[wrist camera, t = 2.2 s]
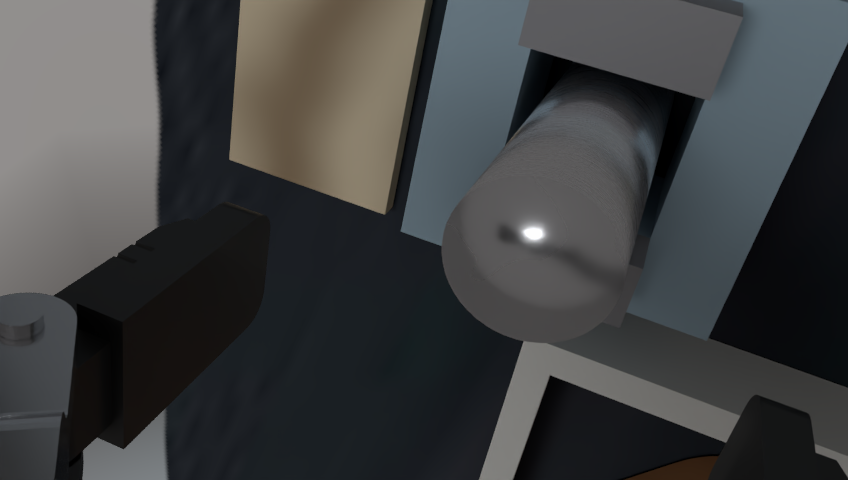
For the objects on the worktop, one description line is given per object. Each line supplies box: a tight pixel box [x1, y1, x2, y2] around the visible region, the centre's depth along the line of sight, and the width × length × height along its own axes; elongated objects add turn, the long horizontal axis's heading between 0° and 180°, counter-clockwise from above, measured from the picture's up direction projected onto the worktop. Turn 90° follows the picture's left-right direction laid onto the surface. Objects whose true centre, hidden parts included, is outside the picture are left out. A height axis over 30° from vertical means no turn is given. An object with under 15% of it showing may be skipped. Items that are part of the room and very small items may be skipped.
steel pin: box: [442, 62, 675, 343], centre depth 20 cm, size 4×4×13 cm
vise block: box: [401, 0, 848, 341], centre depth 23 cm, size 10×10×7 cm
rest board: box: [229, 0, 433, 215], centre depth 29 cm, size 7×9×1 cm
